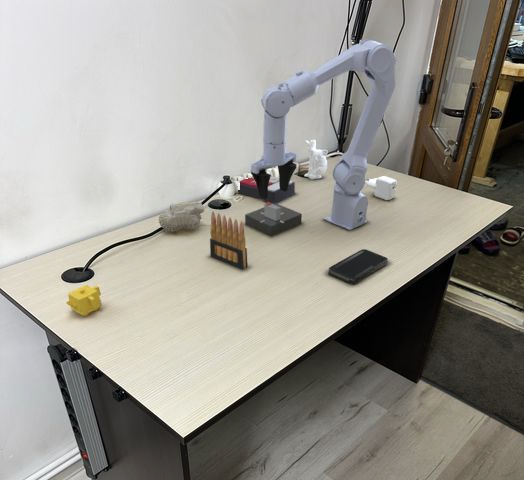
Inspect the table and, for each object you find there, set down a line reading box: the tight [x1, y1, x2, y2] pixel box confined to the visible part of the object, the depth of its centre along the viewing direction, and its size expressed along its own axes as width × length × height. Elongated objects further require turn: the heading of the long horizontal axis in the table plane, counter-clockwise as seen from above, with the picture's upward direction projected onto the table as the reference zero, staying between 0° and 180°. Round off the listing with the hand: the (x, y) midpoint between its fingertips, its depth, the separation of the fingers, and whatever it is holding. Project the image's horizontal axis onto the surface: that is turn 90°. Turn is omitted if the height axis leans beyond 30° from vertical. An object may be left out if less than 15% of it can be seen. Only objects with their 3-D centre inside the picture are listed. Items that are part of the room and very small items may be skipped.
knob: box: [263, 202, 281, 221], centre depth 135 cm, size 5×2×4 cm, turn 44°
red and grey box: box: [237, 175, 296, 204], centre depth 157 cm, size 11×4×15 cm
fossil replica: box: [158, 201, 205, 233], centre depth 135 cm, size 12×8×10 cm
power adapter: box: [365, 175, 398, 201], centre depth 156 cm, size 11×5×6 cm, turn 44°
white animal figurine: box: [304, 139, 329, 180], centre depth 166 cm, size 8×7×12 cm
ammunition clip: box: [209, 210, 249, 271], centre depth 119 cm, size 11×2×12 cm, turn 52°
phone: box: [327, 248, 389, 285], centre depth 120 cm, size 8×1×15 cm
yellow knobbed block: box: [65, 284, 102, 317], centre depth 104 cm, size 8×6×5 cm
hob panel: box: [244, 202, 303, 238], centre depth 139 cm, size 11×12×3 cm
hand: (273, 193), depth 134 cm, fingers open, 7 cm apart
